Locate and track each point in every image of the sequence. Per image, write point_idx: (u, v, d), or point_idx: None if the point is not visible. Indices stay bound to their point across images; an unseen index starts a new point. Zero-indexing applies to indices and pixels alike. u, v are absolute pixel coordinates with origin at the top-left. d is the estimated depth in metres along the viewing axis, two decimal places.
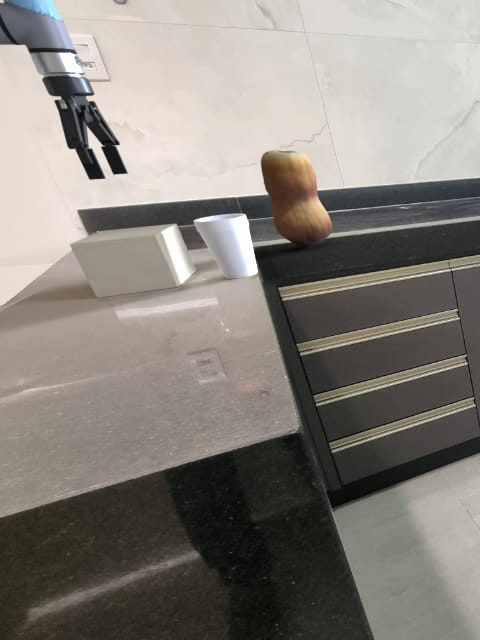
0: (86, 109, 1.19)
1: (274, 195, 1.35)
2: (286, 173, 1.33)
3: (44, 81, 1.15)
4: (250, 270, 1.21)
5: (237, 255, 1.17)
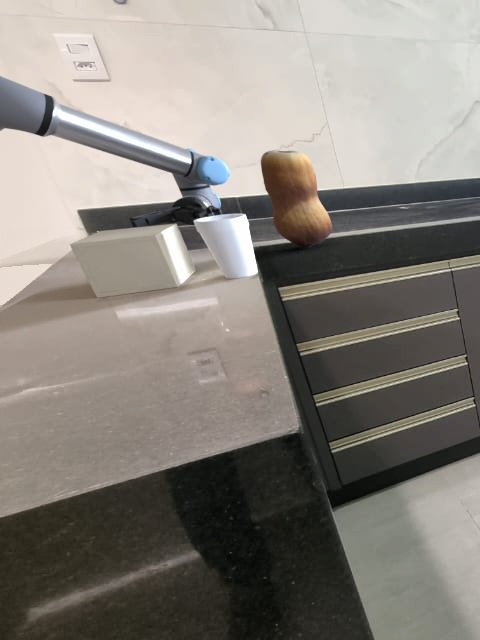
0: None
1: (274, 195, 1.35)
2: (286, 173, 1.33)
3: (197, 199, 1.51)
4: (250, 270, 1.21)
5: (237, 255, 1.17)
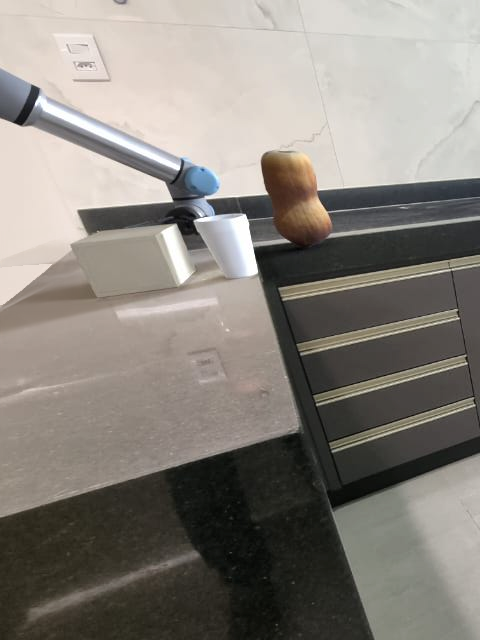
0: (190, 230, 1.44)
1: (274, 195, 1.35)
2: (286, 173, 1.33)
3: (191, 209, 1.46)
4: (250, 270, 1.21)
5: (237, 255, 1.17)
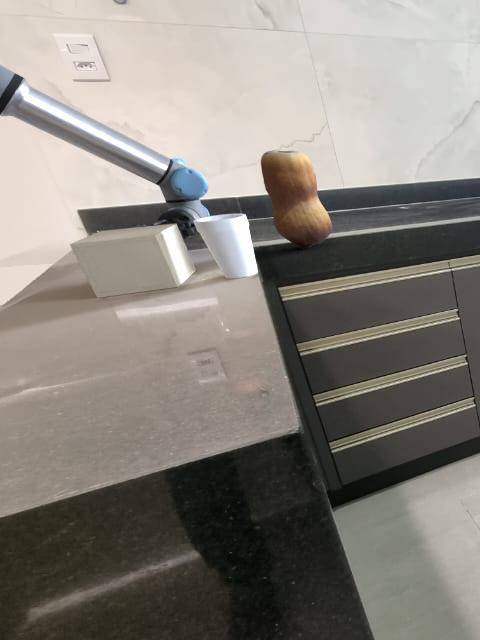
0: None
1: (274, 195, 1.35)
2: (286, 173, 1.33)
3: (185, 211, 1.41)
4: (250, 270, 1.21)
5: (237, 255, 1.17)
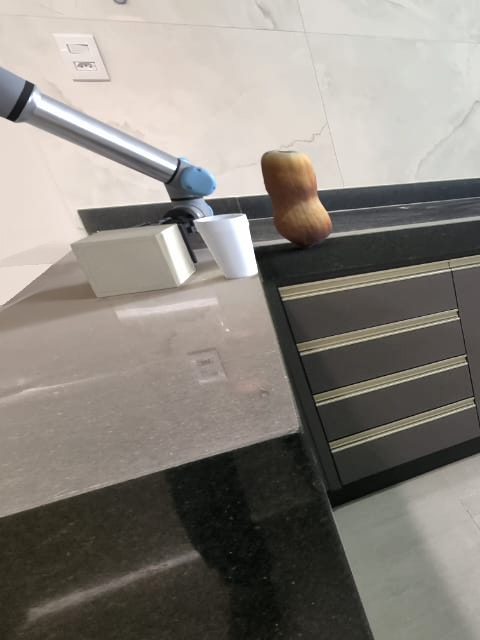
0: None
1: (274, 195, 1.35)
2: (286, 173, 1.33)
3: (189, 209, 1.45)
4: (250, 270, 1.21)
5: (237, 255, 1.17)
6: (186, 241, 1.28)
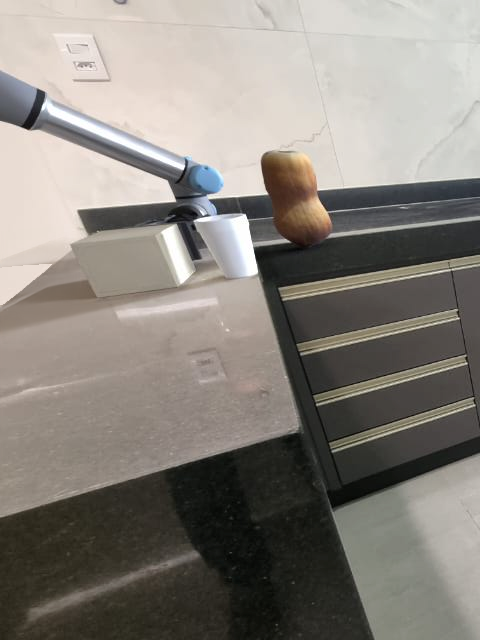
0: None
1: (274, 195, 1.35)
2: (286, 173, 1.33)
3: (193, 207, 1.48)
4: (250, 270, 1.21)
5: (237, 255, 1.17)
6: (191, 238, 1.31)
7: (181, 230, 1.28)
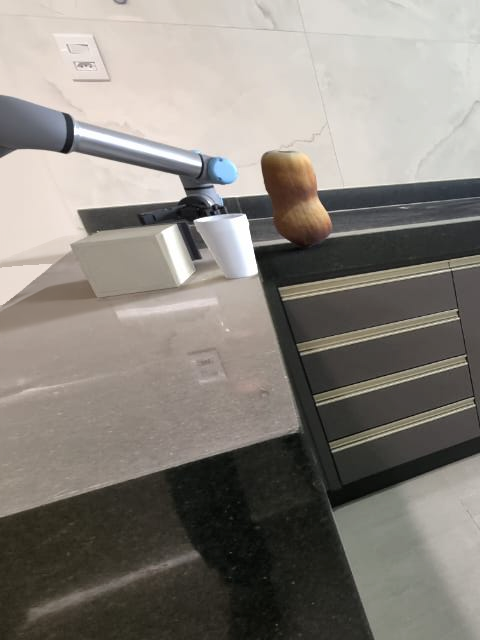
0: None
1: (274, 195, 1.35)
2: (286, 173, 1.33)
3: (201, 198, 1.57)
4: (250, 270, 1.21)
5: (237, 255, 1.17)
6: (191, 238, 1.31)
7: (181, 230, 1.28)
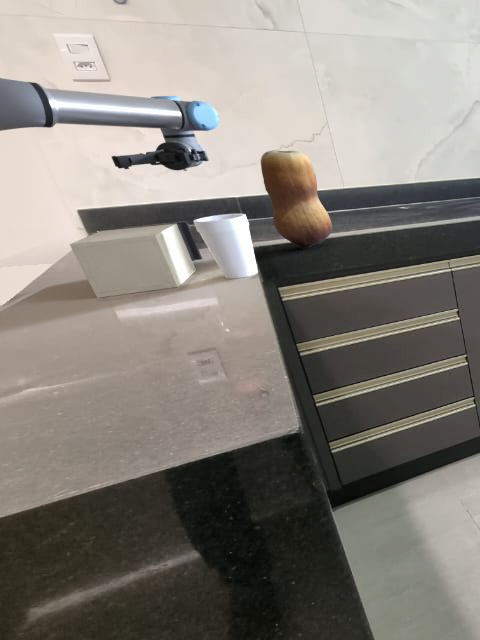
0: (180, 163, 1.48)
1: (274, 195, 1.35)
2: (286, 173, 1.33)
3: (181, 144, 1.51)
4: (250, 270, 1.21)
5: (237, 255, 1.17)
6: (191, 238, 1.31)
7: (181, 230, 1.28)
